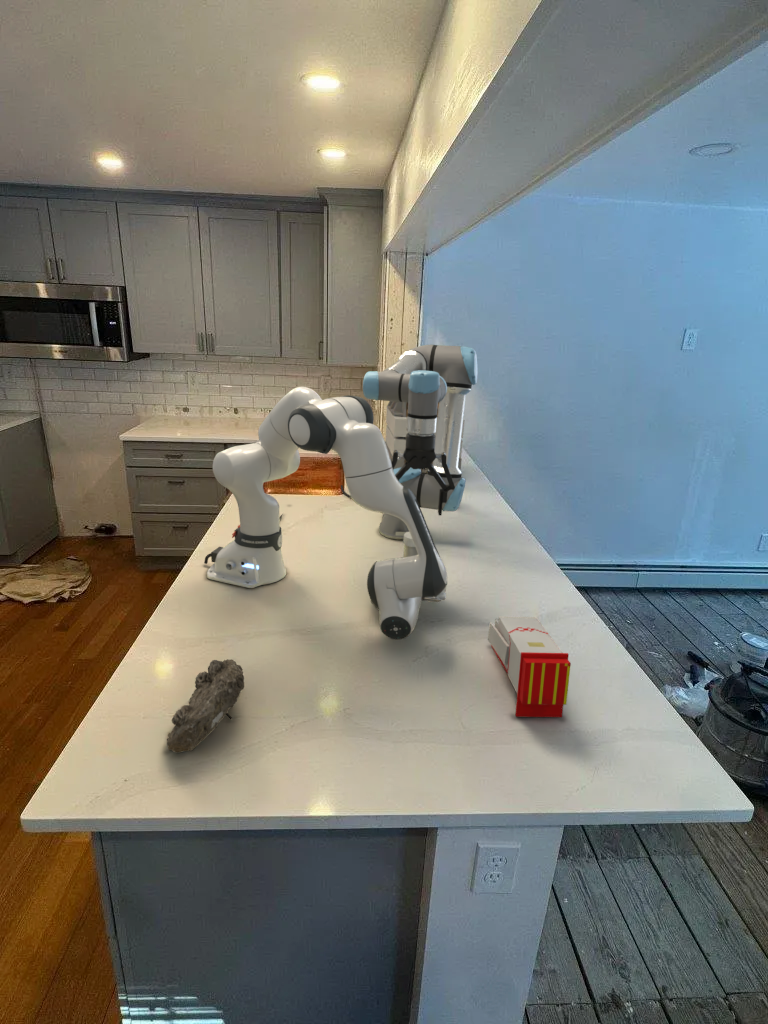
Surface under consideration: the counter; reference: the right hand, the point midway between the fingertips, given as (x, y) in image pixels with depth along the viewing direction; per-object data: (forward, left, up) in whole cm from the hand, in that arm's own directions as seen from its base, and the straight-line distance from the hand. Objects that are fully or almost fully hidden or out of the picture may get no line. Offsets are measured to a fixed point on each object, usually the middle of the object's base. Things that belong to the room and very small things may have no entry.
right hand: (415, 512), depth 152 cm
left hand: (+1, -1, -17) cm, 17 cm away
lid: (0, 0, -7) cm, 7 cm away
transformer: (-86, +87, -23) cm, 125 cm away
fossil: (+15, -66, -23) cm, 72 cm away
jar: (0, 0, -23) cm, 23 cm away
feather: (-71, 0, -23) cm, 74 cm away
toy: (+43, -8, -23) cm, 50 cm away
